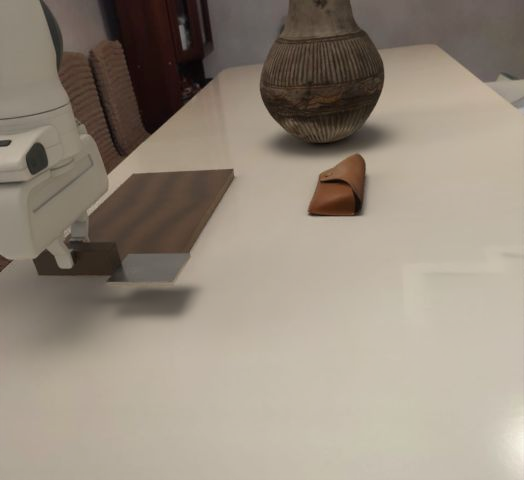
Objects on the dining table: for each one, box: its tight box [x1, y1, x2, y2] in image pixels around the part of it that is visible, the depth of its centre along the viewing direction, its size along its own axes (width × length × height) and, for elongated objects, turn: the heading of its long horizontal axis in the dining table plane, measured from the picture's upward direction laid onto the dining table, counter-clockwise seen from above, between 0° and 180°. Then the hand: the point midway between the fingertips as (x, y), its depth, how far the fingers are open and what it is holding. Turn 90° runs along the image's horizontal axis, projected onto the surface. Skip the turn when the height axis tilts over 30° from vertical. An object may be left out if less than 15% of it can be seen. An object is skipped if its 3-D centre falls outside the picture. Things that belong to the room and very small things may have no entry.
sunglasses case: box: [307, 152, 367, 217], centre depth 86 cm, size 18×7×7 cm
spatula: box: [31, 242, 191, 287], centre depth 63 cm, size 18×7×3 cm, turn 80°
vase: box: [259, 0, 386, 144], centre depth 103 cm, size 25×25×30 cm
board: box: [63, 168, 235, 263], centre depth 87 cm, size 20×37×2 cm, turn 170°
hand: (75, 258), depth 63 cm, fingers closed on spatula, 2 cm apart
